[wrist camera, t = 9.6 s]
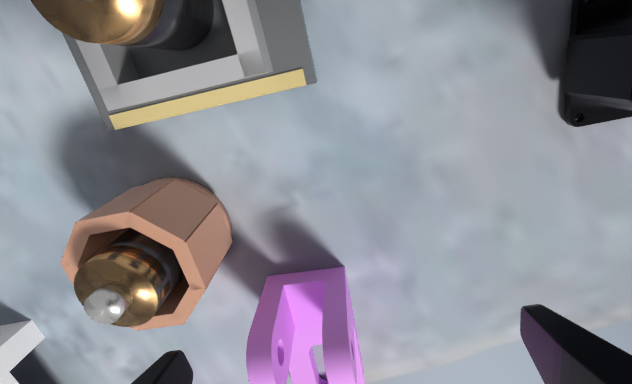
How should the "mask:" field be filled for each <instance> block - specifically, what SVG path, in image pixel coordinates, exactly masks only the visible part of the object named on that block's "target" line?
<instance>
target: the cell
mask: <svg viewBox="0 0 632 384" xmlns="http://www.w3.org/2000/svg"><path fill="white" fill-rule="evenodd" d="M31 2H32V3H33V5H34V6H35V7H36V9H37V10H38V11H39V12H40V14H41V15H42V16H43V17H44V18H45V19H46V20H47V21H48V22H49V23H50V24H52V25H53V26H54V27H55V28H57V29H58V30H60V31H61V32H62V33H64V34H66V35H68V36H70V37H72V38H74V39H77V40H80V41H83V42H88V43H97V44H108V45H119V46H130V47H141V48H152V49H163V50H175V51H184V50H189V49H192V48H194V47H196V46H197V45H199V44H200V43H201V42H202V41H203V40H204V39H205V38H206V37H207V35H208V33H209V32H210V29H211V27H212V23H213V19H214V3H213V0H31Z"/></svg>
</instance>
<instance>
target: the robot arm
mask: <svg viewBox="0 0 632 384" xmlns="http://www.w3.org/2000/svg"><path fill="white" fill-rule="evenodd" d="M565 92H566V106H565V122H566V123H567V124H568V125H571V126H575V127H580V126H585V125H590V124H595V123H601V122H606V121H611V120H616V119H621V118H626V117H632V0H589V3H588V5H587V6H585V5H584V0H573V3H572V15H571V30H570V40H569V42H568V48H567V64H566V79H565ZM578 113H579V114H580V116H579V118H578V119H577V120H575V116H576V115H577V114H578ZM520 332H521V337H522V340H523V342H524V344H525V346H526V348H527V350H528V352H529V353H530V356H531V358H532V359H533V362H534V364H535V366H536V367H537V369H538V371H539V373H540V375H541V377H542V379H543V381H544V383H545V384H632V355H630V354H628V353H627V352H625V351H623V350H621V349H620V348H618V347H616V346H614V345H612V344H611V343H609V342H607V341H605V340H604V339H602V338H600V337H598V336H596V335H595V334H593V333H591V332H589V331H588V330H586V329H584V328H582V327H581V326H579V325H577V324H575V323H573V322H572V321H570V320H568V319H566V318H565V317H563V316H561V315H559V314H557V313H556V312H554V311H552V310H550V309H549V308H547V307H545V306H543V305H540V304H535V305H527V306H523V307H522V308H521V320H520ZM192 381H193V370H192V368H191V366H190V364H189V362H188V360H187V358H186V356H185V354H184V353H183V352H182V351H181V350H177V351H169V352H166V353H165V354H164V355H163V356H161V357H160V358H159V359H158V360H157V361H156V362H155V363H154V364H153V365H151V366H150V367H149V368H148V369H147V370H146V371H145V372H144V373H142V374H141V375H140V376H139V377H138V378H137V379H136V380H135V381H134V382H132V383H131V384H192Z"/></svg>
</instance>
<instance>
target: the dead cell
mask: <svg viewBox="0 0 632 384" xmlns="http://www.w3.org/2000/svg"><path fill="white" fill-rule="evenodd" d="M183 274H184V273H183V270H182V268H181V266H180V264H179V262H178V260H177V257H176V255H175V253H174V251H173V250H172V249H171V248H169V247H167V246H165V245H163V244H161V243H159V242H157V241H155V240H153V239H152V238H150V237H148V236H146V235H144V234H142V233H140V232H138V231H136V230H134V229H133V228H131V227H130V228H129V229H127V230H126V231H125V232H124V233H122V234H121V235H120V236H119V237H117V238H116V239H115V240H114V241H113V242H111V243H110V244H109V245H108V246H106V247H105V248H104V249H103V250H101V251H100V252H99V253H98V254H96V255H95V256H94V257H93V258H91V259H90V260H89V261H88V262H86V263H85V264H84V265H83V266H82V267H80V268H79V270H78V271H77V273H76V275H75V278H74V289H75V293H76V295H77V297H78V299H79V301H80V302H81V304H82V305H83V306H84V310H85V312H86V313H87V315H88V316H89V317H90V318H92V319H93V320H95V321H97V322H99V323H103V324H112V325H116V326H122V327H134V326H139V325H142V324H144V323H146V322H148V321H149V320H150V319H151V318H152V317H153V316H154V315H155V313H156V312H157V311H158V309H159V308H160V306H161V305H162V304H163V302H164V301H165V299H166V298H167V297H168V295H169V294H170V292H171V291H172V290H173V288H174V287H175V285H176V284H177V283H178V281H179V280H180V278H181V277H182V276H183Z"/></svg>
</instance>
